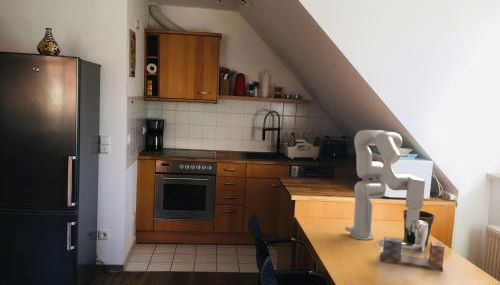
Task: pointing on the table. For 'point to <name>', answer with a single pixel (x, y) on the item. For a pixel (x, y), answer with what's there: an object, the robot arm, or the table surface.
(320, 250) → the table surface
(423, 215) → the plant pot
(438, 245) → the tube rig
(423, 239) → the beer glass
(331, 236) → the table surface
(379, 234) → the table surface
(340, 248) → the table surface
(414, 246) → the tube
